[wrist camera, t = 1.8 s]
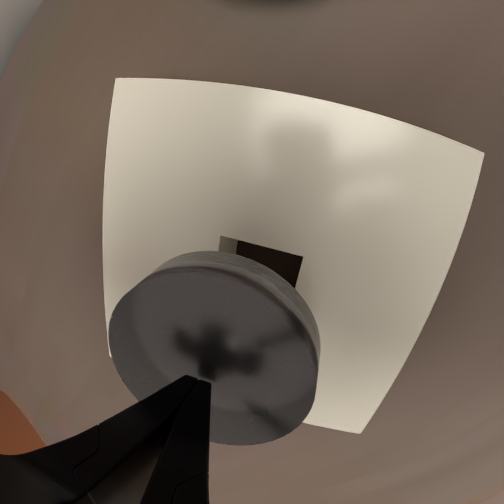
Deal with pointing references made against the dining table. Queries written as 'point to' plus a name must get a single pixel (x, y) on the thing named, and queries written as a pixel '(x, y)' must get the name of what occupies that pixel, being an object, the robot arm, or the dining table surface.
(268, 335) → the plunger
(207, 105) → the block
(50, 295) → the dining table surface
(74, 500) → the robot arm
